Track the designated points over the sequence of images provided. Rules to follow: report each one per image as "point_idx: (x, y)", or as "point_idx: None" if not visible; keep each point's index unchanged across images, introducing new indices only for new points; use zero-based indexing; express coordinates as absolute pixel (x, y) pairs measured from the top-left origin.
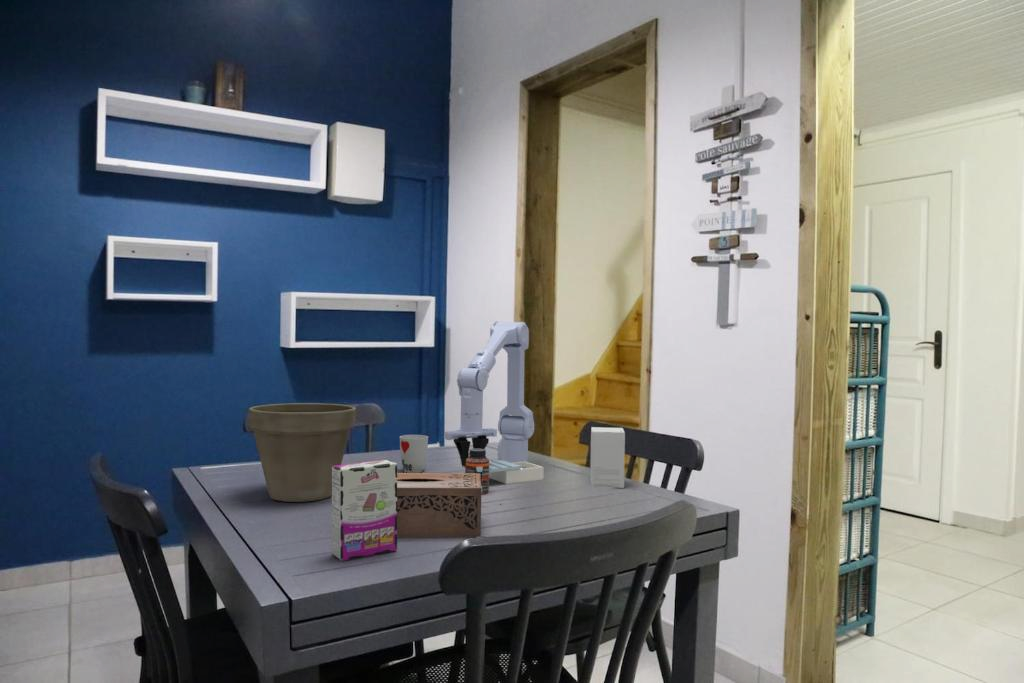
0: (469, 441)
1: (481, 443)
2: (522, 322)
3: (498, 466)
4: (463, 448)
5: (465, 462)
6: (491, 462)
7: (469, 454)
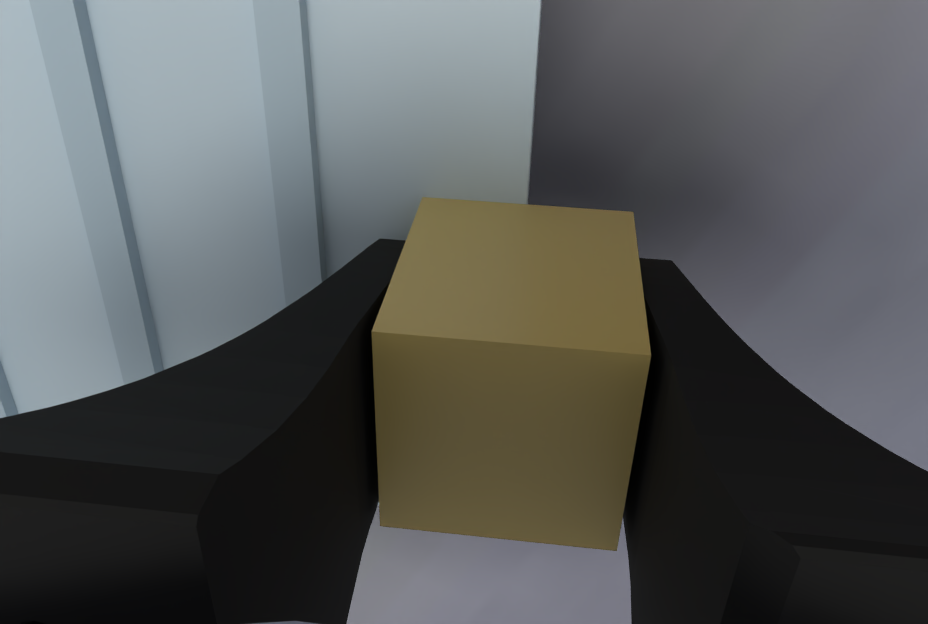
0: (831, 554)
1: (252, 446)
2: None
3: (65, 8)
4: (903, 468)
5: (696, 294)
6: (56, 401)
7: (580, 406)
